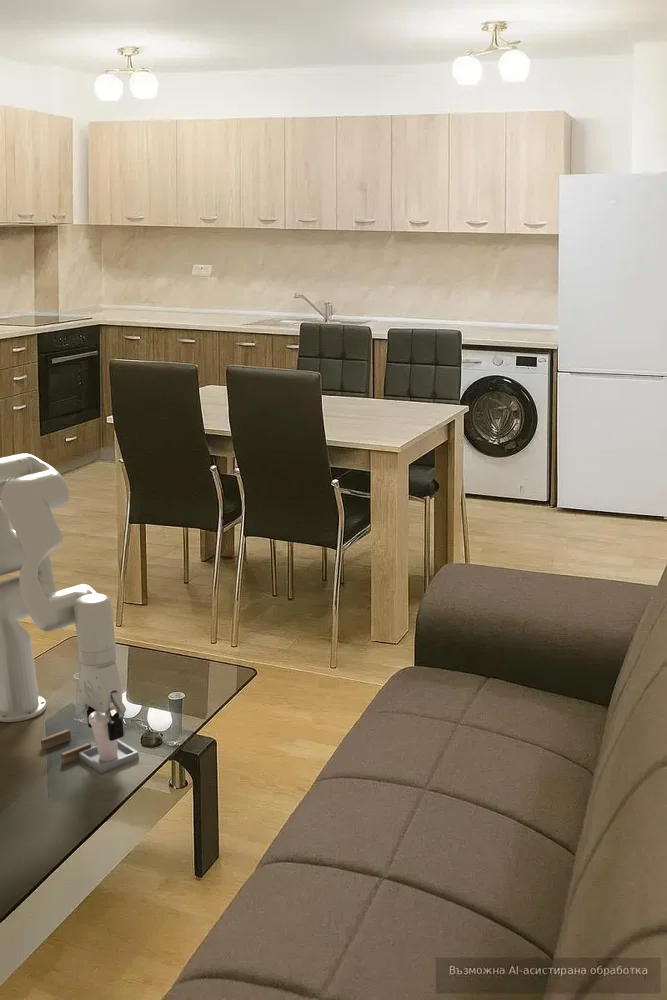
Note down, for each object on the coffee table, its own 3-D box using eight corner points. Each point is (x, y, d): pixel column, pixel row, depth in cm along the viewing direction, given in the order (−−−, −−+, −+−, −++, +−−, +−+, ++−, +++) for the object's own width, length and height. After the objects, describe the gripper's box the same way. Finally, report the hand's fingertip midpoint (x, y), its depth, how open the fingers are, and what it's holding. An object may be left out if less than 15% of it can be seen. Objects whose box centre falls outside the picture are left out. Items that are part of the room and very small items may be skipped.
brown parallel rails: (41, 748, 238) (40, 739, 237) (68, 738, 242) (67, 728, 241) (64, 764, 231) (63, 755, 230) (91, 753, 235) (90, 744, 234)
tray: (79, 759, 233) (78, 752, 232) (116, 744, 238) (115, 737, 238) (101, 774, 226) (100, 767, 226) (138, 758, 232) (138, 751, 231)
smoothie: (116, 765, 228) (110, 703, 224) (87, 763, 230) (80, 702, 226) (128, 750, 234) (122, 690, 231) (100, 748, 236) (93, 688, 232)
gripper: (60, 647, 230) (69, 724, 234) (103, 671, 217) (112, 752, 222) (92, 637, 235) (100, 713, 239) (136, 660, 222) (143, 739, 227)
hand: (106, 731), depth 230 cm, fingers open, 7 cm apart
